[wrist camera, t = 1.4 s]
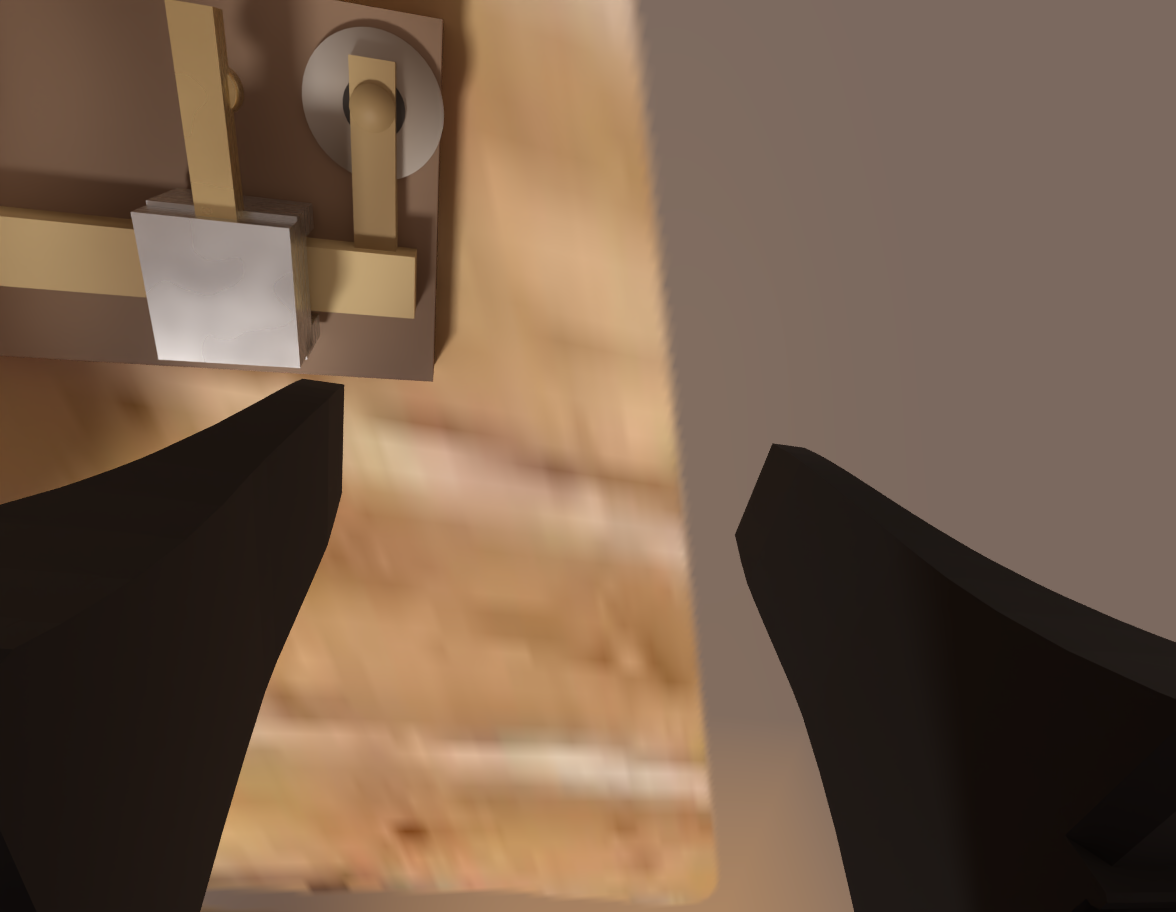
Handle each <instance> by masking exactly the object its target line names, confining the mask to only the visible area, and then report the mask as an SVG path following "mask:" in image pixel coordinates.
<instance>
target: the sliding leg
mask: <svg viewBox="0 0 1176 912" xmlns="http://www.w3.org/2000/svg"><path fill="white" fill-rule="evenodd" d="M164 1H165V8H166V15H167V22H168V29H169V36H170V43H171V49H172V56H173V63H174V70H175V77H176V84H177V91H178V98H179V105H180V112H181V119H182V126H183V132H184V139H185V146H186V153H187V160H188V167H189V174H190V181H191V188H192V190H190V189H181V188H176V189H173V190H171V191H168V192H165V193H163V194H160V195H158V196H155V197H153V198H150V199H148V200H146V206H143V207H141V208H139V209H136V210H134V211H131V217H132V222H133V228H134V233H135V238H136V243H137V249H138V254H139V259H140V264H141V270H142V275H143V280H144V286H145V291H146V296H147V301H148V307H149V312H150V317H151V322H152V328H153V333H154V338H155V343H156V349H157V354H158V359H159V360H175V361H191V362H207V363H224V364H240V365H256V366H273V367H289V368H301V366H302V364H303V362H304V360H307V359H308V357H309V355H310V353H311V352H312V350H313V348H314V346H315V344H316V342H317V340H318V338H319V337H320V323H319V314H317V313H311V307H310V292H309V277H308V262H307V247H306V236H307V235H308V234H309V233H310V232H311V231H312V230H313V229H314V225H313V209H312V203H304V202H295V201H287V200H278V199H269V198H260V197H251V196H243V194H242V185H241V176H240V166H239V157H238V148H237V139H236V130H235V121H234V113H235V112H237V111H238V110H239V109H240V108H241V106H242V104H243V101H244V88H243V85H242V82H241V80H240V78H239V77H238V75H237V74H236V73H235V71H233V70H232V69H231V68H230V67H229V66H228V57H227V48H226V39H225V30H224V20H223V11H222V9H219V8H215V7H212V6H206V5H200V4H194V3H188V2H182V1H177V0H164Z"/></svg>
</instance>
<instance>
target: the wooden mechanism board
mask: <svg viewBox="0 0 1176 912" xmlns="http://www.w3.org/2000/svg"><path fill="white" fill-rule="evenodd" d="M177 1H182V2H188V3H194V4H200V5H206V6H212V7H215V8H219V9H222V11H223V20H224V30H225V39H226V48H227V57H228V66H229V67H230V68H231V69H232V70H233V71H235V73H236V74H237V75H238V77H239V78H240V80H241V82H242V85H243V88H244V101H243V104H242V106H241V108H240V109H239V110H238V111H237V112H235V113H234V121H235V130H236V139H237V148H238V157H239V166H240V176H241V185H242V194H243V196H251V197H260V198H269V199H278V200H287V201H295V202H304V203H312V209H313V225H314V229H313V230H312V231H311V232H310V233H309V234H308V235H307V236H306V247H307V262H308V277H309V292H310V307H311V313H317V314H319V323H320V337H319V338H318V340H317V342H316V344H315V346H314V348H313V350H312V352H311V353H310V355H309V357H308V359H307V360H304V362H303V364H302V366H301V368H289V367H273V366H256V365H240V364H224V363H207V362H191V361H175V360H159V359H158V354H157V349H156V343H155V338H154V333H153V328H152V322H151V317H150V312H149V307H148V301H147V296H146V291H145V286H144V280H143V275H142V270H141V264H140V259H139V254H138V249H137V243H136V238H135V233H134V228H133V222H132V217H131V211H134V210H136V209H139V208H141V207H143V206H146V200H148V199H150V198H153V197H155V196H158V195H160V194H163V193H165V192H168V191H171V190H173V189H176V188H181V189H190V190H192V188H191V181H190V174H189V167H188V160H187V153H186V146H185V139H184V132H183V126H182V119H181V112H180V105H179V98H178V91H177V84H176V77H175V70H174V63H173V56H172V49H171V43H170V36H169V29H168V22H167V15H166V8H165V1H164V0H0V356H12V357H29V358H46V359H62V360H79V361H96V362H113V363H129V364H146V365H163V366H180V367H197V368H213V369H230V370H247V371H264V372H281V373H297V374H314V375H331V376H348V377H365V378H381V379H398V380H415V381H432V382H433V373H434V349H435V312H436V275H437V239H438V202H439V165H440V138H441V134H442V130H443V123H444V106H443V100H442V95H441V91H442V54H443V20H442V19H438V18H432V17H427V16H421V15H415V14H410V13H404V12H399V11H393V10H387V9H382V8H376V7H371V6H365V5H359V4H354V3H348V2H343V1H337V0H177Z"/></svg>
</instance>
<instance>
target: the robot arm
mask: <svg viewBox="0 0 1176 912" xmlns="http://www.w3.org/2000/svg"><path fill="white" fill-rule="evenodd" d="M343 415H344V385H343V384H336V383H329V382H322V381H314V380H307V379H301V380H299V381H296V382H294V383H292V384H290V385H288V386H286V387H284V388H282V389H280V390H279V391H277V392H275V393H273V394H271V395H269V396H268V397H266V398H264V399H262V400H260V401H259V402H257V403H255V404H253V405H251V406H249V407H247V408H245V409H244V410H242V411H240V412H238V413H236V414H234V415H232V416H230V417H228V418H227V419H225V420H223V421H221V422H219V423H217V424H215V425H213V426H211V427H209V428H207V429H205V430H202V431H200V432H198V433H196V434H194V435H192V436H190V437H187V438H185V439H183V440H181V441H179V442H177V443H174V444H172V445H170V446H168V447H166V448H164V449H162V450H159V451H157V452H155V453H153V454H150V455H148V456H146V457H143V458H141V459H138V460H136V461H133V462H131V463H128V464H126V465H123V466H120V467H118V468H115V469H112V470H110V471H107V472H104V473H101V474H98V475H96V476H93V477H90V478H87V479H84V480H82V481H79V482H76V483H73V484H70V485H67V486H64V487H61V488H57V489H54V490H50V491H47V492H43V493H40V494H36V495H33V496H29V497H26V498H22V499H19V500H15V501H12V502H8V503H5V504H1V505H0V912H200V910H201V907H202V903H203V900H204V896H205V892H206V889H207V885H208V882H209V878H210V875H211V871H212V867H213V864H214V860H215V857H216V853H217V850H218V846H219V843H220V839H221V835H222V832H223V828H224V825H225V822H226V818H227V815H228V812H229V808H230V805H231V801H232V798H233V795H234V791H235V788H236V785H237V781H238V778H239V775H240V771H241V768H242V764H243V761H244V758H245V754H246V751H247V748H248V745H249V742H250V739H251V735H252V732H253V729H254V726H255V723H256V719H257V716H258V713H259V710H260V707H261V703H262V700H263V697H264V694H265V691H266V688H267V686H268V683H269V680H270V678H271V675H272V673H273V670H274V667H275V665H276V662H277V660H278V658H279V655H280V653H281V651H282V649H283V646H284V644H285V642H286V639H287V637H288V635H289V633H290V630H291V628H292V626H293V624H294V621H295V619H296V617H297V614H298V612H299V610H300V608H301V605H302V603H303V601H304V598H305V596H306V594H307V592H308V589H309V587H310V585H311V582H312V580H313V578H314V576H315V573H316V571H317V569H318V566H319V564H320V562H321V559H322V557H323V555H324V552H325V550H326V547H327V545H328V542H329V538H330V535H331V531H332V528H333V524H334V521H335V517H336V513H337V509H338V506H339V502H340V498H341V494H342V461H343ZM735 537H736V541H737V545H738V550H739V554H740V558H741V563H742V566H743V570H744V573H745V577H746V580H747V584H748V586H749V589H750V591H751V594H752V596H753V599H754V601H755V604H756V606H757V608H758V611H759V613H760V616H761V618H762V620H763V623H764V625H765V627H766V629H767V632H768V634H769V637H770V639H771V641H772V643H773V646H774V648H775V650H776V653H777V655H778V657H779V660H780V662H781V664H782V667H783V669H784V671H785V673H786V676H787V678H788V680H789V683H790V685H791V688H792V690H793V692H794V695H795V698H796V700H797V703H798V706H799V708H800V711H801V713H802V716H803V719H804V722H805V726H806V729H807V732H808V735H809V739H810V742H811V745H812V748H813V752H814V755H815V758H816V762H817V765H818V768H819V771H820V775H821V779H822V782H823V786H824V790H825V793H826V797H827V801H828V805H829V808H830V812H831V816H832V819H833V823H834V827H835V830H836V834H837V839H838V843H839V847H840V852H841V856H842V860H843V865H844V869H845V873H846V878H847V882H848V886H849V891H850V895H851V899H852V904H853V908H854V912H1176V642H1173V641H1171V640H1168V639H1165V638H1162V637H1160V636H1157V635H1155V634H1152V633H1150V632H1147V631H1144V630H1142V629H1139V628H1137V627H1134V626H1132V625H1129V624H1127V623H1124V622H1122V621H1119V620H1117V619H1115V618H1112V617H1110V616H1108V615H1105V614H1103V613H1101V612H1099V611H1096V610H1094V609H1091V608H1090V607H1087V606H1085V605H1083V604H1080V603H1078V602H1076V601H1074V600H1071V599H1069V598H1067V597H1064V596H1062V595H1060V594H1058V593H1056V592H1054V591H1051V590H1050V589H1047V588H1045V587H1043V586H1041V585H1039V584H1037V583H1035V582H1033V581H1031V580H1029V579H1027V578H1025V577H1023V576H1021V575H1019V574H1017V573H1015V572H1013V571H1012V570H1010V569H1008V568H1006V567H1003V566H1002V565H1000V564H998V563H996V562H994V561H992V560H990V559H988V558H987V557H985V556H983V555H981V554H979V553H978V552H976V551H974V550H972V549H970V548H969V547H967V546H965V545H964V544H962V543H960V542H958V541H957V540H955V539H953V538H952V537H950V536H948V535H947V534H945V533H943V532H942V531H940V530H938V529H937V528H935V527H933V526H932V525H930V524H928V523H927V522H925V521H924V520H922V519H920V518H919V517H917V516H916V515H914V514H912V513H911V512H909V511H908V510H906V509H904V508H903V507H901V506H900V505H898V504H897V503H895V502H894V501H892V500H890V499H889V498H887V497H886V496H884V495H882V494H881V493H880V492H878V491H877V490H875V489H874V488H872V487H870V486H869V485H867V484H866V483H864V482H863V481H861V480H860V479H858V478H857V477H855V476H853V475H852V474H850V473H849V472H847V471H845V470H844V469H842V468H841V467H839V466H837V465H836V464H834V463H832V462H831V461H829V460H827V459H826V458H824V457H822V456H820V455H818V454H816V453H814V452H812V451H810V450H808V449H806V448H802V447H794V446H787V445H780V444H772V446H771V449H770V451H769V453H768V456H767V458H766V461H765V463H764V466H763V468H762V470H761V473H760V475H759V478H758V480H757V483H756V485H755V487H754V490H753V493H752V495H751V497H750V500H749V502H748V505H747V507H746V509H745V512H744V514H743V517H742V519H741V522H740V524H739V526H738V529H737V531H736V534H735Z"/></svg>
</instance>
